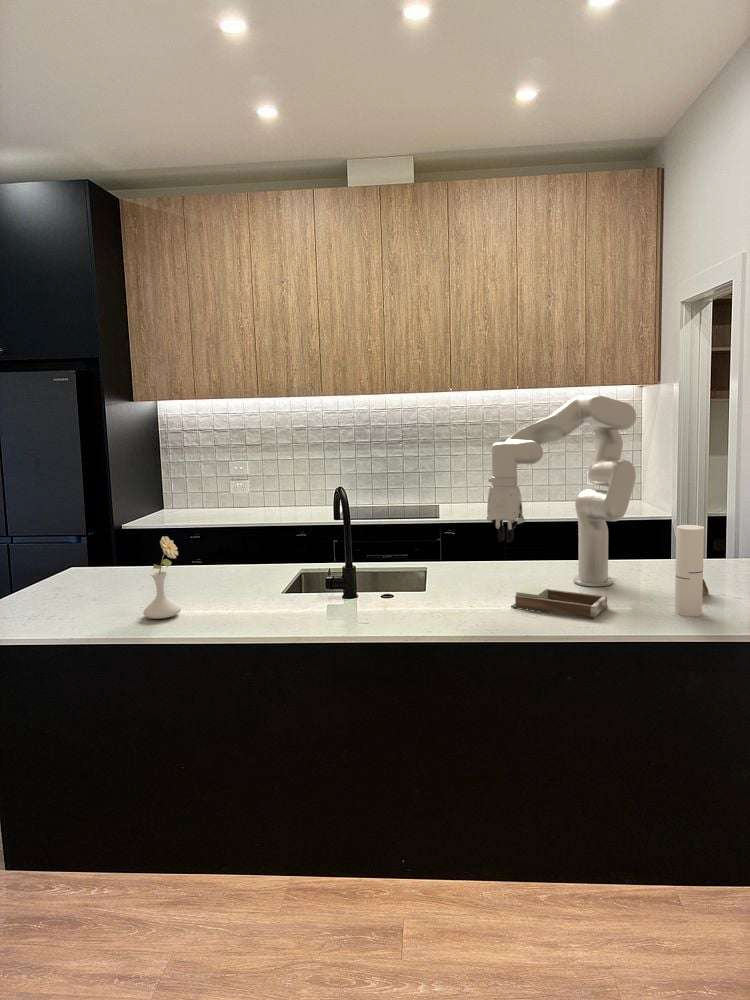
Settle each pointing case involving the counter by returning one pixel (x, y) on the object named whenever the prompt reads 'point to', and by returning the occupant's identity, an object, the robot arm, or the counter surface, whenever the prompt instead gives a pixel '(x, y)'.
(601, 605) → the brown wooden tray
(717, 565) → the counter surface
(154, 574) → the flower in vase
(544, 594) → the sage block
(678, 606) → the cylindrical container
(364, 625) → the counter surface
